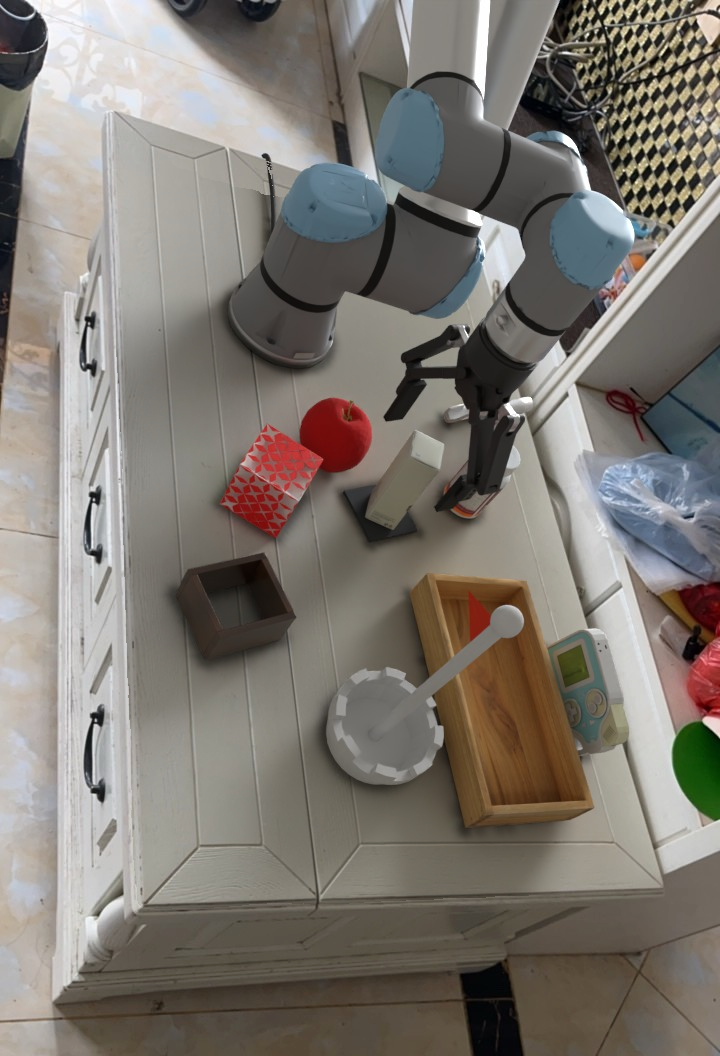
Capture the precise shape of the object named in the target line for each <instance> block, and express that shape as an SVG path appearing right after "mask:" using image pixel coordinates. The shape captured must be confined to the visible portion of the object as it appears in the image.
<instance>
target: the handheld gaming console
mask: <svg viewBox="0 0 720 1056" xmlns="http://www.w3.org/2000/svg"><path fill="white" fill-rule="evenodd" d="M546 647H547V650H548V654H549V657H550V660H551V664H552V667H553V671H554V674H555V677H556V681H557V684H558V688H559V691H560V694H561V697H562V701H563V704H564V707H565V710H566V714H567V717H568V721H569V724H570V727H571V731H572V734H573V737H574V741H575V744H576V747H577V751H578V754H579V757H583V756H589V755H596V754H602V753H607V752H610V751H613V750H615V748H616V747H617V746H619V745H622V744H624V743H625V742H627V741H628V739H629V736H630V727H629V722H628V718H627V715H626V711H625V707H624V705H625V704H624V703H625V696H624V692H623V689H622V685H621V682H620V678H619V674H618V670H617V667H616V663H615V660H614V657H613V652H612V649H611V645H610V641H609V638H608V637H607V634H606V633H605V632H604V631H603V630H602V629H599V628H582V629H581V628H580V629H578V630H576V631H574V632H572V633H570V634H568V635H566V636H564V637H562V638H560V639H558V640H556V641H554V642H552V643H550V644H549V645H546Z"/></svg>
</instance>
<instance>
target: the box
mask: <svg viewBox="0 0 720 1056" xmlns="http://www.w3.org/2000/svg"><path fill="white" fill-rule="evenodd" d="M444 452H445V443H443V442H441V441H439V440H437V439H435V438H433V437H431V436H430V435H427V434H426V433H423V432H421V431H419V430H417V429H414V430H413V432H412V433H411V435H410V436H409V437H408V439H407V440H406V442H405V443H404V444H403V446H402V447H401V449H400V450H399V452H398V453H397V454H396V456H395V457H394V459H393V460H392V462H391V463H390V465H389V466H388V468H387V469H386V470H385V472H384V474H383V475H382V476H381V478H379V481H378V482H377V485H376V484H375V485H376V486H375V488H374V489H373V491H372V492H371V495H370V499H369V502H368V506H367V511H366V515H365V517H366V518H367V519H369V520H371V521H374V522H376V523H378V524H380V525H383V526H385V527H387V528H389V529H392V530H394V529H395V527H396V526H397V525H398V523H399V522H400V521H401V520H402V518H403V517H404V516H405V514H406V513H407V512H408V513H409V511H410V509H411V508H412V507H413V505H414V504H415V503H416V501H418V499H419V497H420V496H421V494H423V493H424V491H425V490H426V488H427V487H428V486H429V485H430V483H431V482H432V481H433V479H434V478H435V477H436V475H437V474H438V473H439V472H440V470H441V466H442V461H443V457H444Z"/></svg>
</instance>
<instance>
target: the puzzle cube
mask: <svg viewBox="0 0 720 1056" xmlns="http://www.w3.org/2000/svg"><path fill="white" fill-rule="evenodd" d="M322 461H323V458H321V457H319V456H318V455H316V454H315V453H313V452H311V451H310V450H308V449H307V448H305V447H304V446H302V445H301V443H299V442H297V441H296V440H294V439H293V438H291V437H290V436H288V435H286V434H284V432H282V431H280V430H279V429H276V428H275V427H274V426H272V425H270V424H269V423H266V424H265V425H264V427H263V429H262V430H261V432H260V433H259V435H258V436H257V438H256V439H255V441H254V442H253V444H252V445H251V447H250V448H249V450H248V451H247V453H246V454H245V456H244V457H243V458H242V460H241V461H240V463H239V465H238V467H237V469H236V471H235V473H234V475H233V476H232V478H231V480H230V483H229V484H228V486H227V489H226V490H225V492H224V495H223V497H222V499H221V500H220V503H219V505H221V506H222V507H223V508H225V509H226V510H229V511H230V512H232V513H234V514H235V515H237V516H239V517H240V518H242V519H243V520H245V521H247V522H248V523H250V524H251V525H253V526H255V527H257V528H258V529H260V530H261V531H263V532H264V533H266V534H268V535H270V536H271V537H273V538H275V539H277V537H279V534H280V533H281V531H282V530H283V528H284V526H286V525H285V524H286V523H287V522H288V520H289V519H290V517H291V515H292V514H293V512H294V511H295V509H296V507H297V505H298V504H299V503H300V500H301V499H302V497H303V495H304V494H305V492H306V490H307V489H308V487H309V485H310V483H311V482H312V481H313V479H314V477H315V475H316V473H317V471H318V470H319V466H320V465H321V463H322Z"/></svg>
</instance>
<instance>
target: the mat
mask: <svg viewBox="0 0 720 1056" xmlns="http://www.w3.org/2000/svg"><path fill="white" fill-rule="evenodd" d="M376 485H377V484H371V485H366V486H361V487H355V488H351V489H344V490H343V491H342V494H343V496H344V498H345V500H346V501H347V504H348V506H349V507H350V509H351V511H352V513H353V515H354V516H355V518H356V520H357V522H358V524H359V526H360V528H361V529H362V532H363V533H364V535H365V537H366V539H367V541H368V543H369V544H372V543H375V542H380V541H384V540H388V539H392V538H397V537H401V536H406V535H410V534H414V533H418V531H419V529H418V527H417V524H415V521H414V520H413V518H412V516H411V514H410V512H409V511H408V512H407V513H406V514H405V516H404V517H403V518H402V520H401V521H400V522H399V523H398V525H397V526H396V527H395V529H394V530H392V529H389V528H387V527H385V526H383V525H380V524H378V523H376V522H374V521H371V520H369V519H367V518H366V517H365V515H366V511H367V506H368V502H369V499H370V495H371V492H372V491H373V489H374V488H375V486H376Z"/></svg>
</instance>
